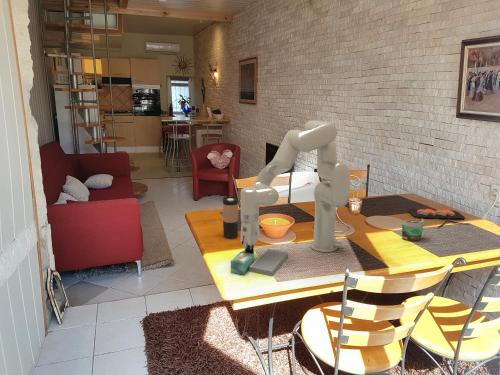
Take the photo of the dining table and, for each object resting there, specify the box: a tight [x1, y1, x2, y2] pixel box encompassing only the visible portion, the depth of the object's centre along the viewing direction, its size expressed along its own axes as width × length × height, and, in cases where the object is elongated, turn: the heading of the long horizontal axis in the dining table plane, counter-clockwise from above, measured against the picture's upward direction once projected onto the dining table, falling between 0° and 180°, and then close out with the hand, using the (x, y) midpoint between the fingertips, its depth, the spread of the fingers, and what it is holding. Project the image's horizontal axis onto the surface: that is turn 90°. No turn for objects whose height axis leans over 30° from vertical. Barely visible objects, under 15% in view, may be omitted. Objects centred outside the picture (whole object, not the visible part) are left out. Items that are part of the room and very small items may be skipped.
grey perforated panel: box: [242, 248, 289, 277], centre depth 163 cm, size 18×20×3 cm
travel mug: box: [222, 195, 239, 240], centre depth 190 cm, size 8×8×20 cm
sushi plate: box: [407, 208, 470, 229], centre depth 218 cm, size 29×30×4 cm
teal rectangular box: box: [230, 250, 255, 276], centre depth 157 cm, size 6×10×5 cm, turn 156°
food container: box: [400, 218, 426, 243], centre depth 187 cm, size 12×6×10 cm, turn 105°
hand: (249, 257), depth 163 cm, fingers closed
